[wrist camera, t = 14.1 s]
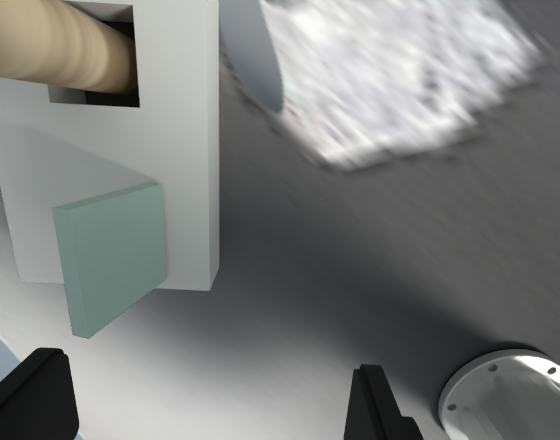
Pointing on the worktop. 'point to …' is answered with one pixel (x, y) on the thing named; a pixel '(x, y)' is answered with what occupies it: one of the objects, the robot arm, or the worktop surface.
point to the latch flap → (110, 253)
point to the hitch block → (123, 142)
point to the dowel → (64, 48)
